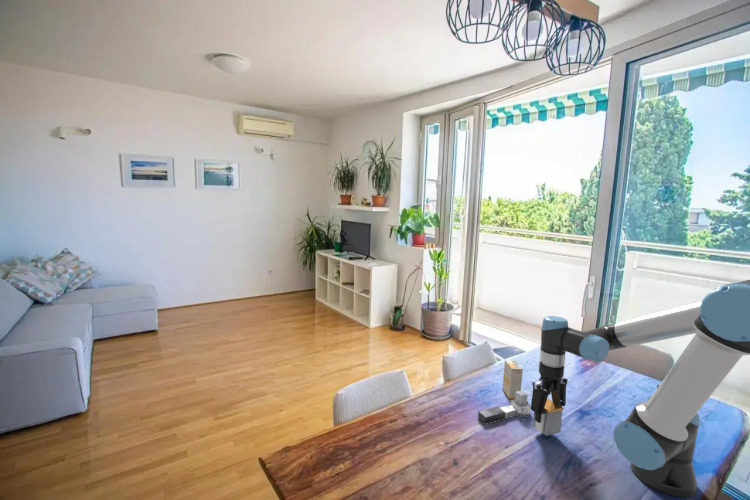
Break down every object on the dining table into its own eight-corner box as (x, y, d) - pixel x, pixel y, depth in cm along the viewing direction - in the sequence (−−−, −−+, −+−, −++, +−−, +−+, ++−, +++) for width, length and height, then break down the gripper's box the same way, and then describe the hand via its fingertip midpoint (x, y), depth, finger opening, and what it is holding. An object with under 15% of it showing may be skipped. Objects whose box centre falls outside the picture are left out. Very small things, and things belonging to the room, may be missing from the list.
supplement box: (520, 399, 145) (523, 369, 143) (508, 399, 145) (511, 368, 143) (513, 389, 153) (516, 359, 151) (501, 388, 153) (504, 359, 151)
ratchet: (520, 404, 141) (521, 386, 140) (534, 414, 135) (536, 396, 134) (475, 415, 133) (476, 396, 132) (487, 427, 127) (489, 407, 126)
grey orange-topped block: (560, 432, 122) (562, 407, 120) (547, 436, 119) (549, 411, 118) (545, 422, 127) (547, 398, 126) (532, 425, 125) (534, 401, 124)
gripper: (562, 354, 128) (557, 416, 130) (521, 362, 120) (516, 428, 123) (582, 363, 121) (576, 428, 123) (539, 372, 113) (534, 441, 116)
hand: (546, 428), depth 123 cm, fingers closed on grey orange-topped block, 6 cm apart
